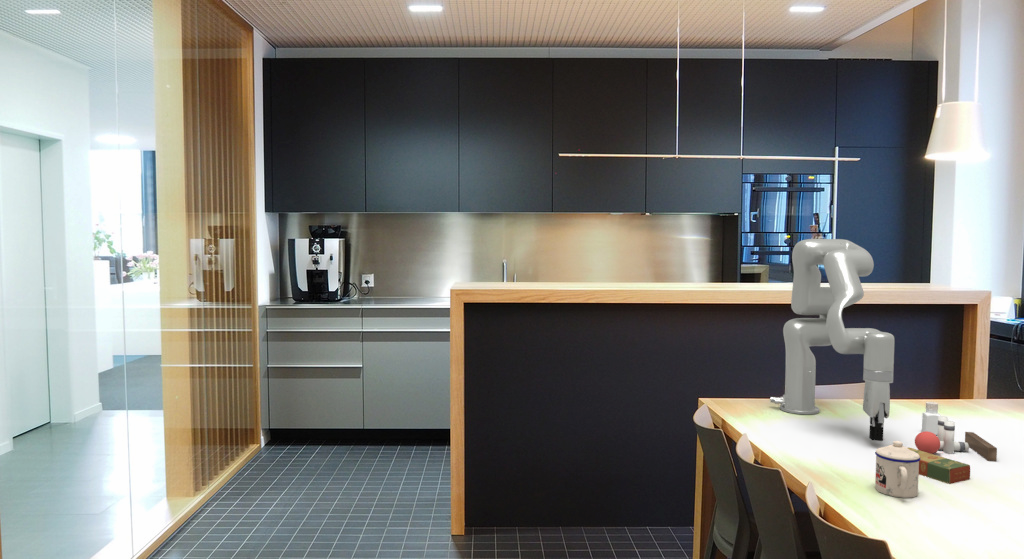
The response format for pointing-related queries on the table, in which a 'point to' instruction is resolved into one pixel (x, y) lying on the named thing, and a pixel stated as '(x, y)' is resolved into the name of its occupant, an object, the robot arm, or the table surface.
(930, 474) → the carton
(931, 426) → the salt shaker
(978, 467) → the table surface
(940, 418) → the pin rear left
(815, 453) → the table surface
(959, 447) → the pin front
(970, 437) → the rail
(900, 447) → the teacup with lid
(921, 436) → the ball
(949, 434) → the pin rear right
